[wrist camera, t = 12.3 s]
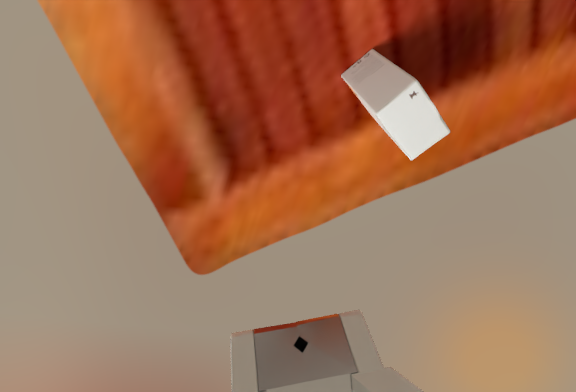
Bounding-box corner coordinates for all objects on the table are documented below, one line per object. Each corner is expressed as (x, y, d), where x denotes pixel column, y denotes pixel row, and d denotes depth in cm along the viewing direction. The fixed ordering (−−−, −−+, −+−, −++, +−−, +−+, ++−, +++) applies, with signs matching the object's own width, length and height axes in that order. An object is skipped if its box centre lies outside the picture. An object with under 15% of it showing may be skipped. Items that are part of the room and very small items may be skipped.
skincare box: (338, 75, 45) (373, 112, 35) (371, 47, 44) (418, 77, 34) (370, 116, 48) (411, 163, 37) (402, 91, 47) (453, 131, 36)
